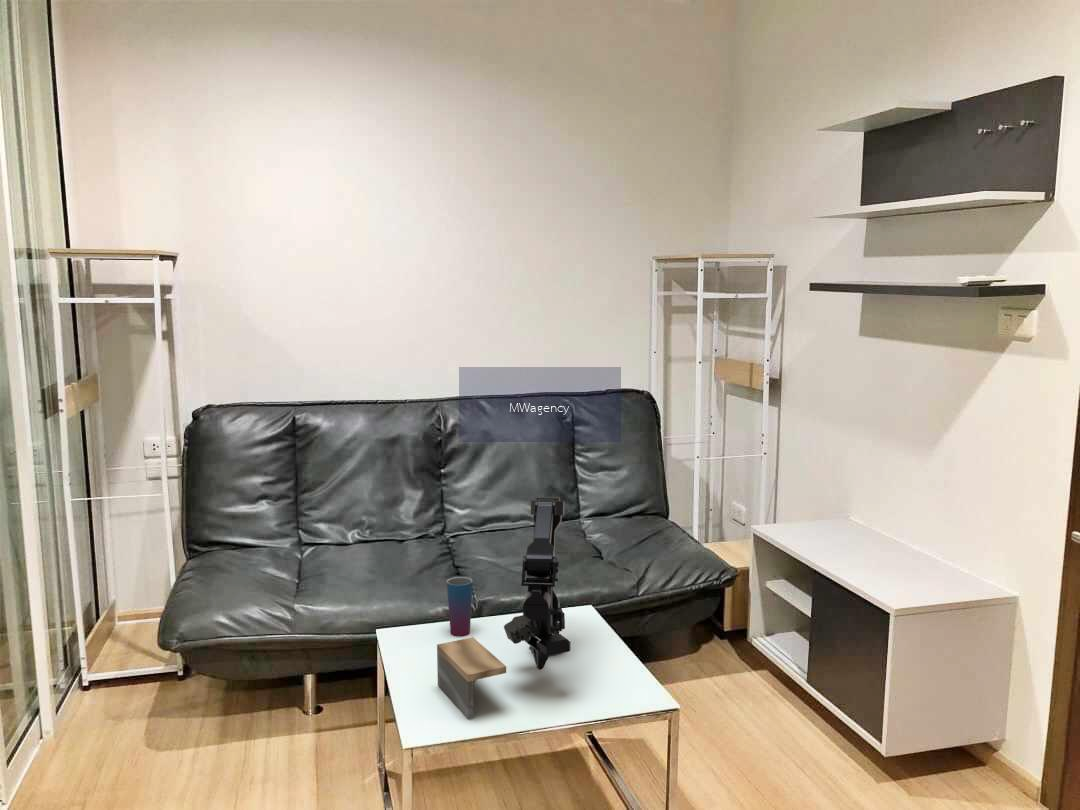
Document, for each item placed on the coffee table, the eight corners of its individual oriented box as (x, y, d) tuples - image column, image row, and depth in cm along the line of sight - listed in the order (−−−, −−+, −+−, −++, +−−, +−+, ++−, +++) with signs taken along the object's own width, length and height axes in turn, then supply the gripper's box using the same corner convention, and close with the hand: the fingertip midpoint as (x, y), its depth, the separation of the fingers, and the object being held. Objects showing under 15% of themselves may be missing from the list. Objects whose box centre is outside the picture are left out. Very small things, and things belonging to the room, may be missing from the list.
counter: (473, 677, 202) (473, 637, 200) (506, 710, 186) (506, 666, 185) (437, 685, 197) (437, 644, 196) (468, 719, 182) (467, 674, 180)
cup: (469, 641, 223) (468, 586, 221) (444, 639, 224) (443, 584, 222) (476, 631, 229) (475, 577, 227) (451, 629, 231) (451, 575, 229)
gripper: (491, 598, 202) (491, 661, 204) (527, 624, 185) (527, 692, 187) (532, 590, 207) (532, 652, 209) (571, 615, 191) (571, 681, 192)
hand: (539, 669), depth 199 cm, fingers closed
